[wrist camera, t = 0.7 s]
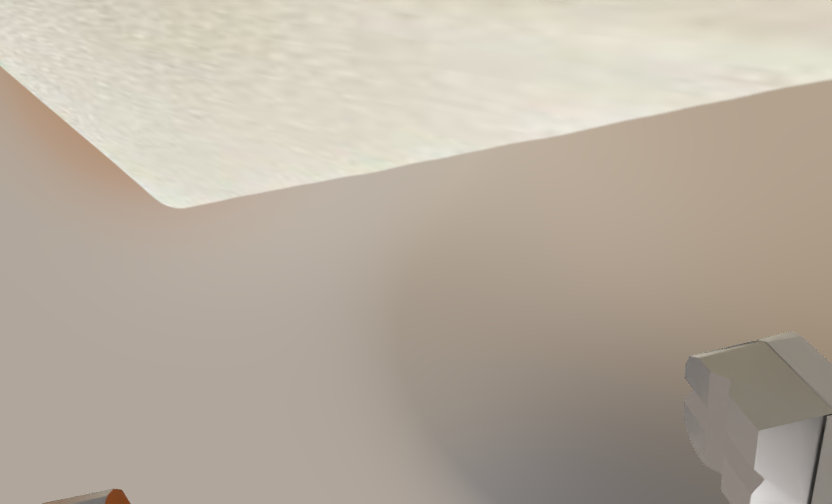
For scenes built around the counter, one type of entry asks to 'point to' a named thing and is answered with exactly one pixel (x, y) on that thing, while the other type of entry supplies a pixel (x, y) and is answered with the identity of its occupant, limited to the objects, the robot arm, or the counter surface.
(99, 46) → the counter surface
